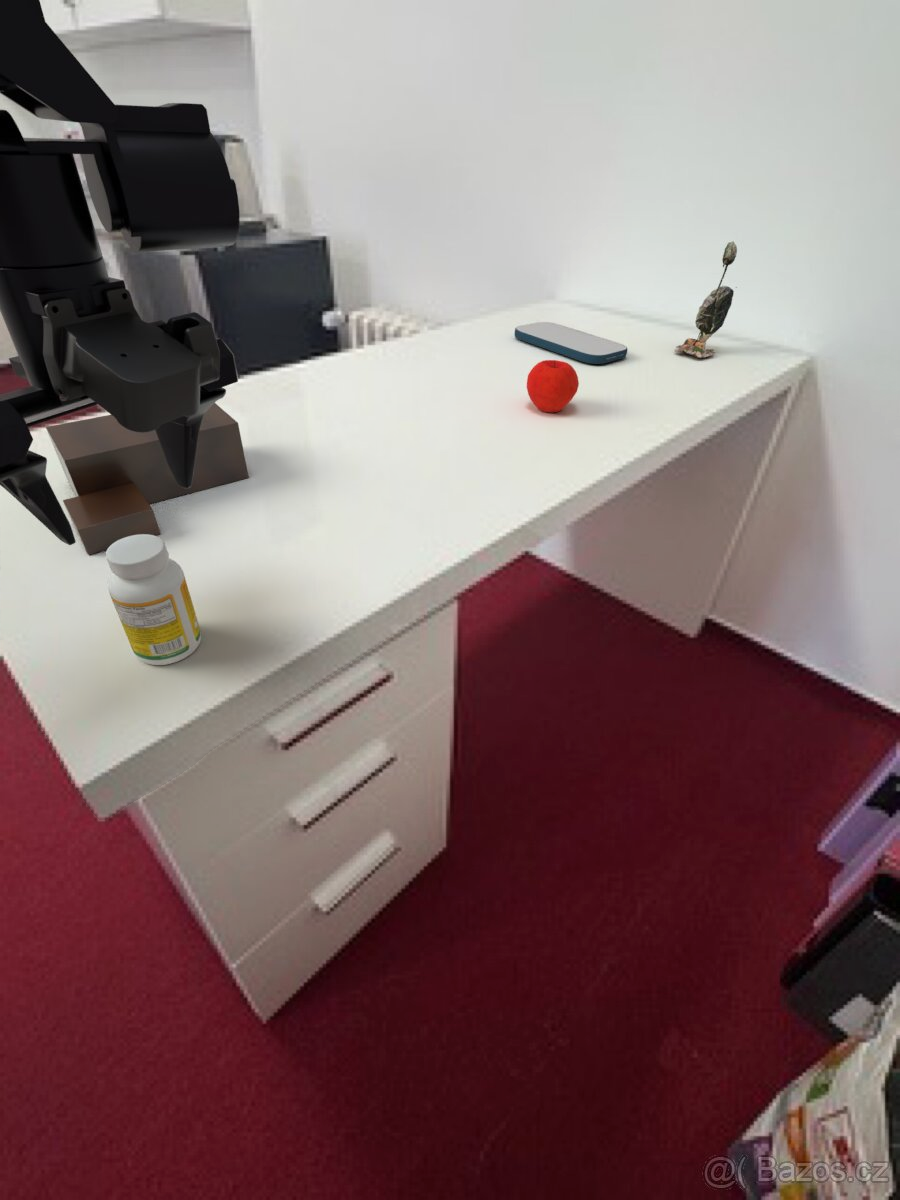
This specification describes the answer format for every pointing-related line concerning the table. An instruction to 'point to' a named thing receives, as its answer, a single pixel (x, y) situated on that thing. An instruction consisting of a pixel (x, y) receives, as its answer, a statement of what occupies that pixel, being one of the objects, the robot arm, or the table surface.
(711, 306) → the plant with pod
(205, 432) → the step shelf
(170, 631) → the supplement bottle
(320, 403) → the table surface
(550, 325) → the external hard drive
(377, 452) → the table surface
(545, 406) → the apple
